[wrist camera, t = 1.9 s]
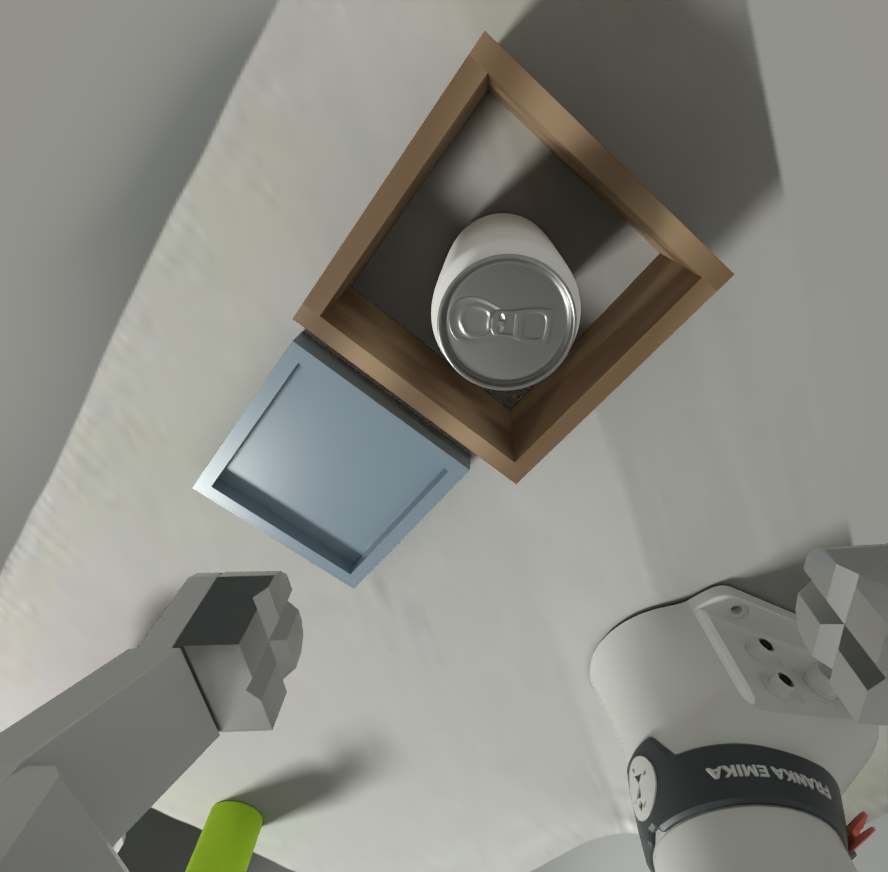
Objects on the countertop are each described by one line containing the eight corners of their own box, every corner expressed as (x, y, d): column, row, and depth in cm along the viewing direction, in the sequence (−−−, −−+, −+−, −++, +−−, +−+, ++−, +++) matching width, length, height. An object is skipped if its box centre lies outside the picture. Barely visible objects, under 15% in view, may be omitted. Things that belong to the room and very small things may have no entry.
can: (450, 207, 32) (430, 235, 21) (563, 216, 31) (602, 249, 21) (442, 318, 34) (422, 393, 24) (546, 327, 34) (572, 406, 24)
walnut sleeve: (686, 250, 32) (734, 274, 25) (511, 429, 38) (516, 484, 31) (485, 57, 28) (485, 30, 22) (328, 288, 34) (292, 318, 28)
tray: (470, 455, 39) (469, 469, 37) (359, 571, 44) (354, 588, 43) (302, 331, 36) (292, 341, 34) (205, 473, 41) (192, 488, 39)
